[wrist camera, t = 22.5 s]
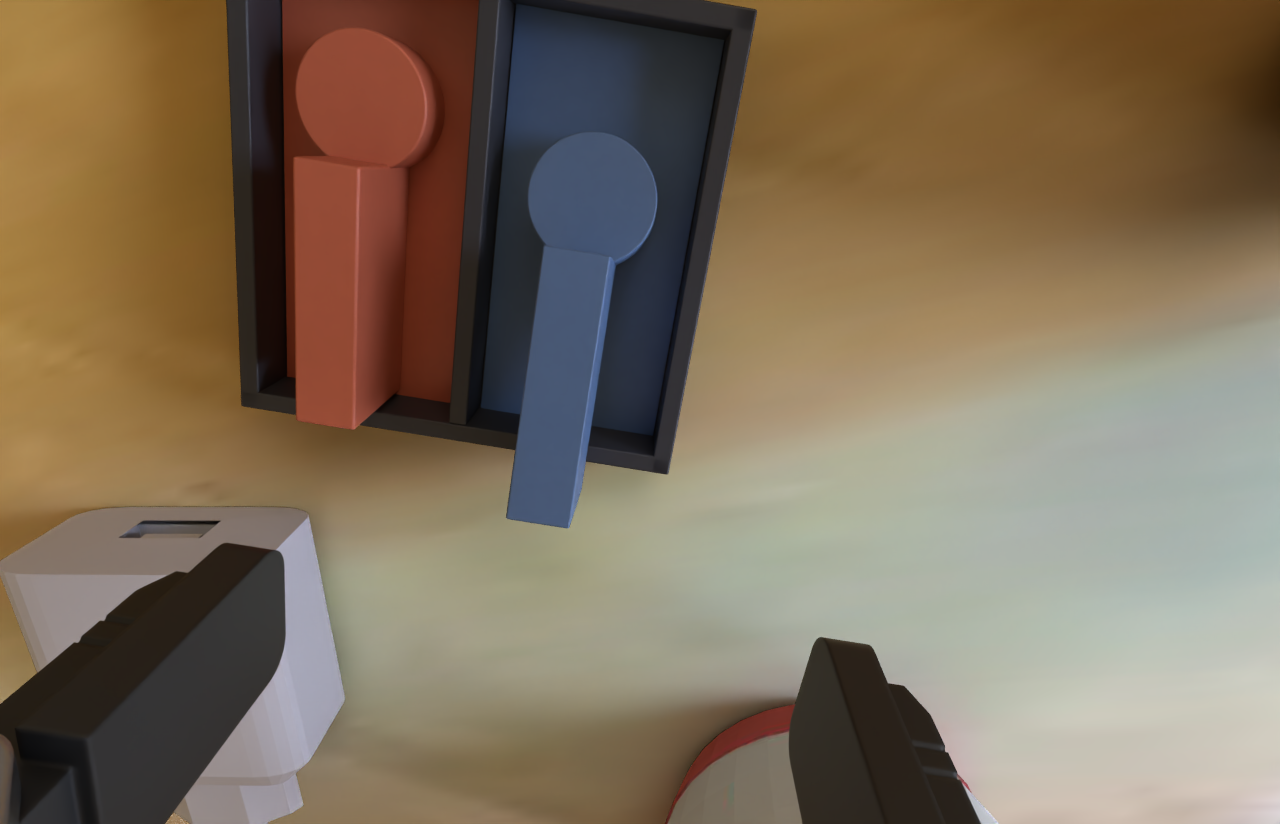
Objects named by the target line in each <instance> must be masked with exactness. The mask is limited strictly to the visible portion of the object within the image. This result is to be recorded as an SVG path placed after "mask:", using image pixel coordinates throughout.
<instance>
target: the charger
mask: <svg viewBox="0 0 1280 824" xmlns="http://www.w3.org/2000/svg"><path fill="white" fill-rule="evenodd" d="M223 543H233V544H239V545H246V546H252V547H259V548H265V549H271V550H278V551H279V552H280V553H281V554H282V556H283V559H284V567H285V617H286V639H285V646H284V651H283V654H282V658H281V661H280V663H279V666H278V668H277V670H276V672H275V674H274V676H273V678H272V679H271V681H270V682H269V683H268V685H267V686H266V687H265V689H264V690H263V692H262V693H261V694H260V696H259V697H258V698H257V700H256V701H255V702H254V704H253V705H252V706H251V708H250V709H249V710H248V712H247V713H246V715H245V716H244V717H243V719H242V720H241V721H240V723H239V724H238V725H237V727H236V728H235V729H234V731H233V732H232V733H231V735H230V736H229V738H228V739H227V740H226V742H225V743H224V744H223V746H222V747H221V748H220V750H219V751H218V752H217V754H216V755H215V756H214V758H213V759H212V761H211V762H210V763H209V765H208V766H207V767H206V769H205V770H204V771H203V773H202V774H201V775H200V777H199V778H198V779H197V781H196V782H195V784H194V785H193V786H192V788H191V789H190V790H189V792H188V793H187V794H186V796H185V797H184V798H183V800H182V801H181V802H180V804H179V805H178V807H177V808H176V809H175V811H174V813H175V814H177V815H178V816H180V817H181V818H182V819H184V820H185V821H187V822H188V823H190V824H268V822H269V821H271V820H274V819H277V818H280V817H283V816H286V815H289V814H291V813H293V812H294V811H296V810H297V809H299V808H300V807H302V806H303V801H302V797H301V793H300V788H299V784H298V780H297V776H296V773H297V772H298V771H299V770H300V769H301V768H302V767H303V766H304V765H305V764H306V763H307V762H308V761H309V760H310V759H311V758H312V756H313V754H314V753H315V751H316V749H317V747H318V746H319V744H320V742H321V741H322V739H323V737H324V735H325V734H326V732H327V730H328V729H329V727H330V725H331V723H332V722H333V720H334V718H335V717H336V715H337V713H338V712H339V710H340V708H341V706H342V705H343V703H344V701H345V694H344V689H343V684H342V679H341V674H340V669H339V664H338V659H337V654H336V649H335V644H334V639H333V634H332V629H331V624H330V619H329V614H328V609H327V604H326V599H325V594H324V589H323V584H322V579H321V574H320V569H319V564H318V559H317V554H316V549H315V544H314V539H313V534H312V530H311V525H310V520H309V515H308V513H306V512H305V511H302V510H299V509H294V508H287V507H116V508H106V509H99V510H93V511H88V512H84V513H81V514H77V515H75V516H73V517H71V518H69V519H67V520H66V521H64V522H62V523H61V524H59V525H58V526H56V527H54V528H53V529H51V530H49V531H48V532H46V533H45V534H43V535H41V536H40V537H38V538H36V539H35V540H33V541H32V542H30V543H28V544H27V545H25V546H23V547H22V548H20V549H18V550H17V551H15V552H14V553H12V554H10V555H9V556H7V557H5V558H4V559H2V560H1V561H0V576H1V579H2V582H3V584H4V587H5V589H6V592H7V595H8V597H9V600H10V603H11V605H12V608H13V610H14V613H15V616H16V618H17V621H18V624H19V626H20V629H21V631H22V634H23V637H24V639H25V642H26V644H27V647H28V650H29V652H30V655H31V658H32V660H33V663H34V665H35V668H36V671H37V673H38V672H39V671H40V670H42V669H43V668H44V667H45V666H46V665H48V664H49V663H50V662H51V661H52V660H54V659H55V658H56V657H57V656H58V655H60V654H61V653H62V652H63V651H64V650H66V649H67V648H68V647H69V646H70V645H71V644H73V643H74V642H76V643H78V642H79V641H80V639H81V636H82V635H83V634H85V633H86V632H87V631H88V630H89V629H91V628H92V627H93V626H94V625H95V624H97V623H98V622H99V621H104V620H105V619H106V615H107V614H108V613H110V612H111V611H112V610H113V609H114V608H116V607H117V606H118V605H119V604H120V603H122V602H123V601H124V600H125V599H126V598H128V597H129V596H130V595H131V594H132V593H133V592H135V591H136V590H138V589H140V588H142V587H144V586H146V585H148V584H150V583H152V582H154V581H157V580H159V579H161V578H163V577H165V576H167V575H169V574H171V573H173V572H175V571H180V572H186V573H188V572H189V571H191V570H192V569H193V568H194V567H195V566H196V565H197V564H198V563H199V562H201V561H202V560H203V559H204V558H205V557H206V556H207V555H208V554H210V553H211V552H212V551H213V550H214V549H215V548H216V547H218V546H219V545H221V544H223Z"/></svg>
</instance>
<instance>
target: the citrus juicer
mask: <svg viewBox="0 0 1280 824" xmlns="http://www.w3.org/2000/svg"><path fill="white" fill-rule="evenodd" d="M794 706H795V704H793V705H788V706H784V707H779V708H775V709H771V710H766V711H764V712H761V713H759V714H756V715H754V716H751V717H749V718H746V719H744V720H741V721H740V722H738V723H737V724H735V725H733V726H732V727H730V728H728V729H727V730H725V731H724V732H722V733H720V734H719V735H718V736H717V737H716V738H715V739H714V740H713V741H712V742H710V743H709V744H708V745H707V746H706V747H705V748H704V749H703V750H702V751H701V753H700V754H699V756H698V757H697V758H696V760H695V761H694V763H693V764H692V765H691V767H690V769H689V771H688V773H687V774H686V776H685V778H684V780H683V782H682V784H681V786H680V789H679V791H678V793H677V795H676V798H675V800H674V802H673V805H672V807H671V810H670V812H669V815H668V817H667V819H666V822H665V824H802V819H801V814H800V809H799V804H798V799H797V794H796V789H795V784H794V779H793V774H792V770H791V765H790V759H789V728H790V721H791V717H792V713H793V710H794ZM957 779H959V780H961V782H962V784H963V786H964V788H965V790H966V792H967V794H968V797H969V799H970V801H971V803H972V805H973V807H974V810H975V812H976V814H977V816H978V818H979V820H980V822H981V824H999V823H998V822H997V821H996V820H995V819H994V817H993V816H992V815H991V814H990V813H989V812H988V811H987V810H986V809H985V808H984V806H983V805H982V804H981V803H980V802H979V801H978V800H977V799H976V798H975V796H974V795H973V794H972V793H971V791H970V789H969V787H968V785H967V784H966V783H965V782H964V780H963V779H962V778H961V777H960V776H959V775H958V774H957Z"/></svg>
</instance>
